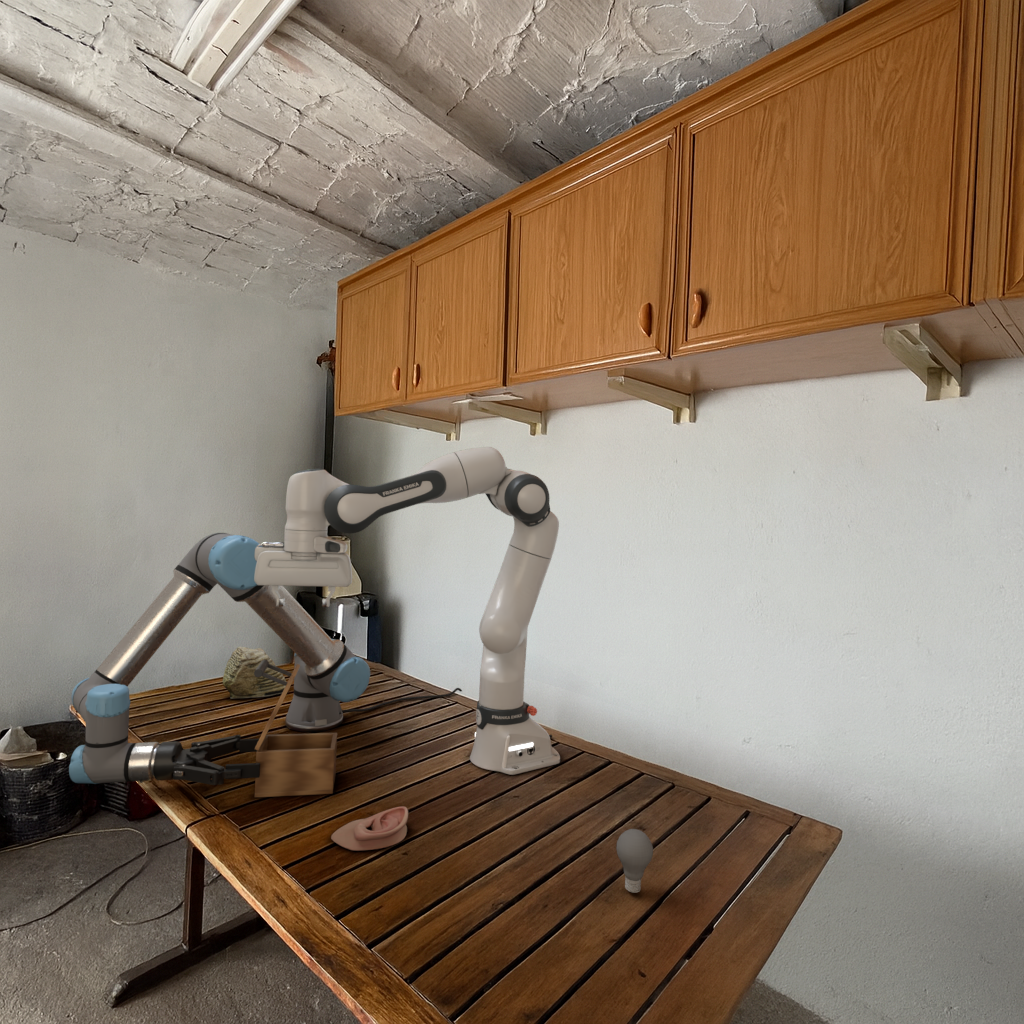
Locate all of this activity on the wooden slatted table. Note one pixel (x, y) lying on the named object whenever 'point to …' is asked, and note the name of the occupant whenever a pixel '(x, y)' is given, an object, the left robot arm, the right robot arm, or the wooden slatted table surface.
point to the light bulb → (634, 857)
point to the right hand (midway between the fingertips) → (303, 606)
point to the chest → (296, 764)
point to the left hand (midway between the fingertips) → (265, 756)
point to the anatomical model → (374, 830)
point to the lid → (260, 672)
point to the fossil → (250, 675)
